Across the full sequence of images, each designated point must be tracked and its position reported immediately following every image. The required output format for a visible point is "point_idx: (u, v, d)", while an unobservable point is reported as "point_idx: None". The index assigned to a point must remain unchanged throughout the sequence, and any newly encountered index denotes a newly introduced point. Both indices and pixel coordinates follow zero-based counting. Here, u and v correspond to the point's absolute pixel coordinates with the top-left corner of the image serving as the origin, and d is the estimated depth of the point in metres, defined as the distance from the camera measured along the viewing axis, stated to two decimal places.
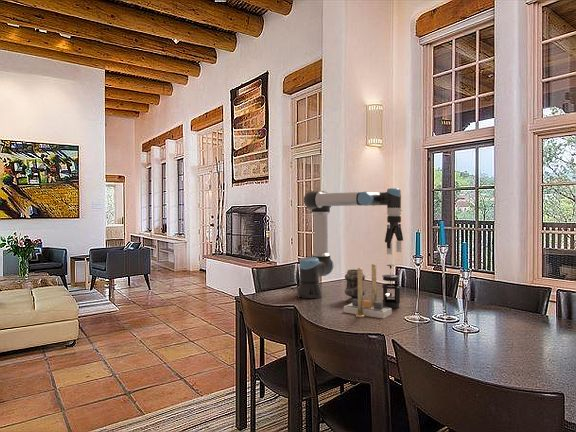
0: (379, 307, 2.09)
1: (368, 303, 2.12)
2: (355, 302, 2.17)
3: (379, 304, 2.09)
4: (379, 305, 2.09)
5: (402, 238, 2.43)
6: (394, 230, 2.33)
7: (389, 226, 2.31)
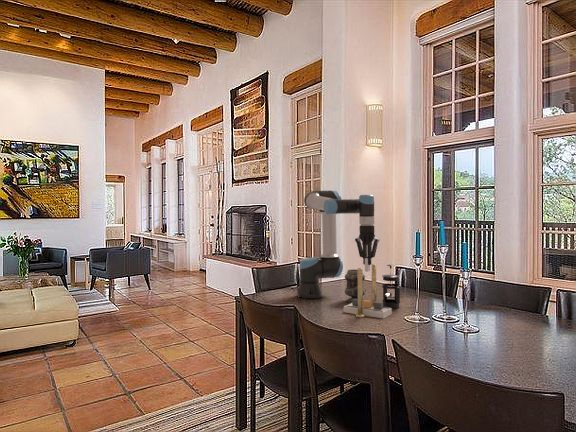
0: (379, 307, 2.09)
1: (368, 303, 2.12)
2: (355, 302, 2.17)
3: (379, 304, 2.09)
4: (379, 305, 2.09)
5: (371, 256, 2.11)
6: (362, 243, 2.13)
7: None
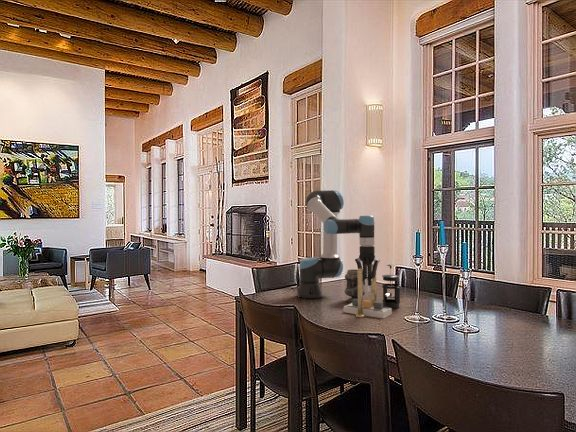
0: (379, 307, 2.09)
1: (368, 303, 2.12)
2: (355, 302, 2.17)
3: (379, 304, 2.09)
4: (379, 305, 2.09)
5: (371, 277, 2.11)
6: (362, 263, 2.13)
7: None
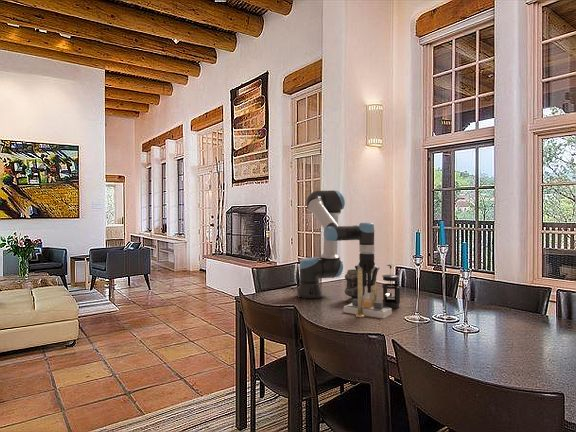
0: (379, 307, 2.09)
1: (368, 303, 2.12)
2: (355, 302, 2.17)
3: (379, 304, 2.09)
4: (379, 305, 2.09)
5: (370, 284, 2.11)
6: (362, 270, 2.14)
7: None
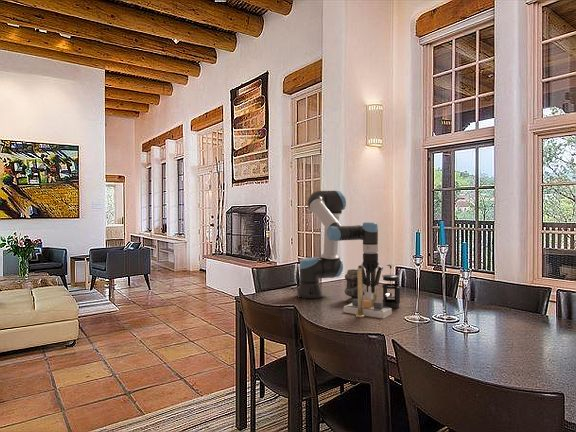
0: (379, 307, 2.09)
1: (368, 303, 2.12)
2: (355, 302, 2.17)
3: (379, 304, 2.09)
4: (379, 305, 2.09)
5: (374, 284, 2.10)
6: None
7: None
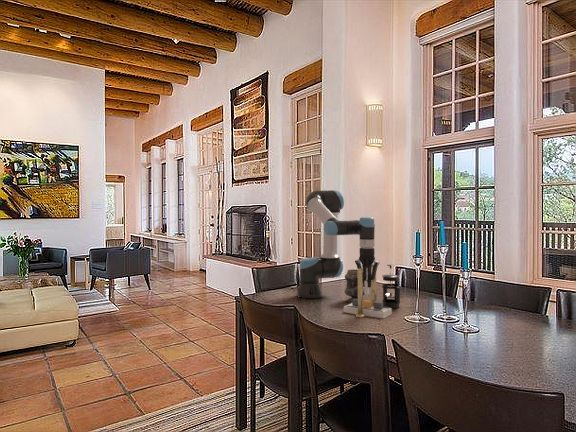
0: (379, 307, 2.09)
1: (368, 303, 2.12)
2: (355, 302, 2.17)
3: (379, 304, 2.09)
4: (379, 305, 2.09)
5: (370, 278, 2.11)
6: (362, 265, 2.14)
7: None
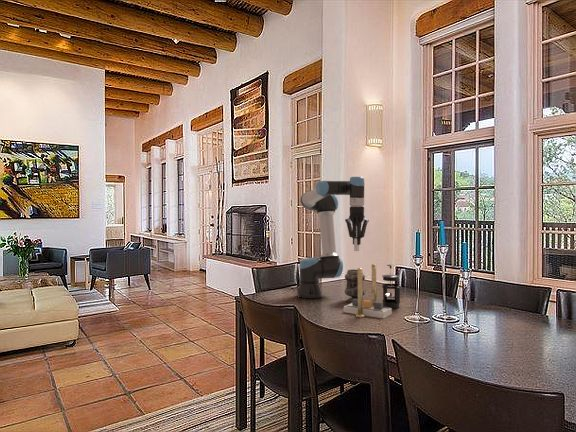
0: (379, 307, 2.09)
1: (368, 303, 2.12)
2: (355, 302, 2.17)
3: (379, 304, 2.09)
4: (379, 305, 2.09)
5: (360, 236, 2.18)
6: (352, 223, 2.20)
7: None
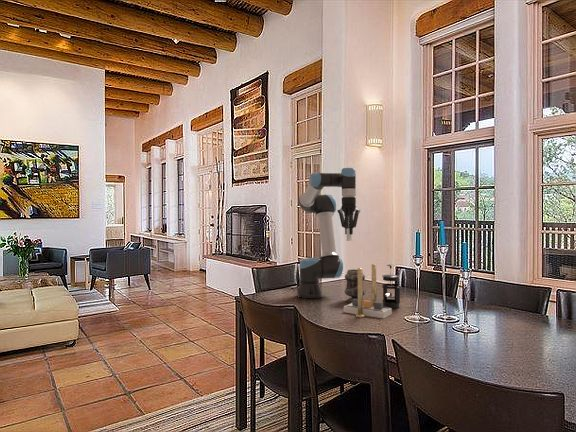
0: (379, 307, 2.09)
1: (368, 303, 2.12)
2: (355, 302, 2.17)
3: (379, 304, 2.09)
4: (379, 305, 2.09)
5: (352, 226, 2.22)
6: (344, 213, 2.25)
7: None
